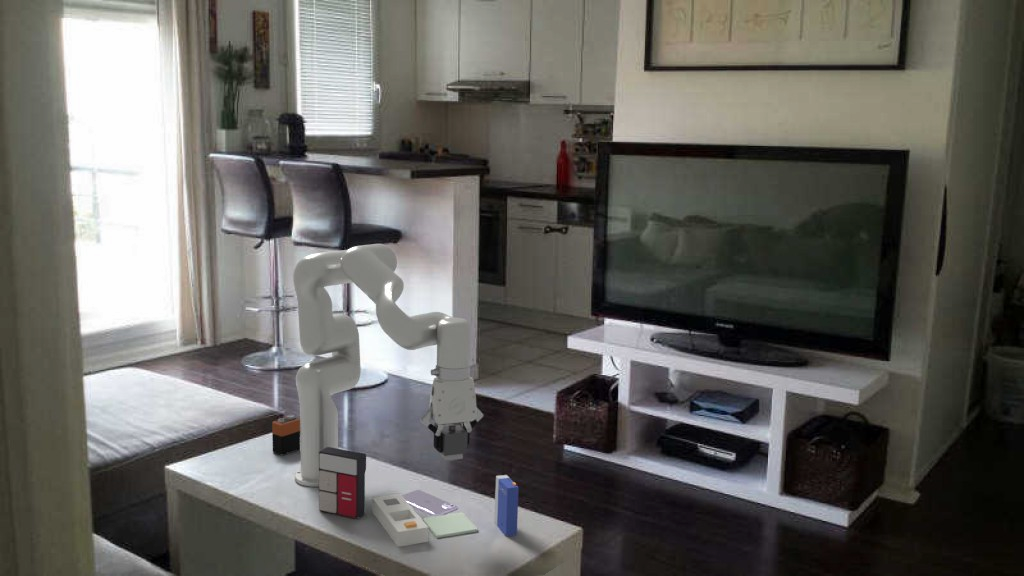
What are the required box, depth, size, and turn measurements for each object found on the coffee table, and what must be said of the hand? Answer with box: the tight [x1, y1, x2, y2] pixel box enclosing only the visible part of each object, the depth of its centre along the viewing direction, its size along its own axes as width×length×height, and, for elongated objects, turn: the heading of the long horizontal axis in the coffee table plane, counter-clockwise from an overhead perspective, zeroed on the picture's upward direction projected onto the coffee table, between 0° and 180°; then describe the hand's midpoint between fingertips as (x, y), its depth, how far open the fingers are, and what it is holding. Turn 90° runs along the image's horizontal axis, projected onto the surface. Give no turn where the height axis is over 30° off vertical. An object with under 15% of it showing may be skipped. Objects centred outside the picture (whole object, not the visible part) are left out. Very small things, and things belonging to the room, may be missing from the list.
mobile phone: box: [401, 489, 458, 516], centre depth 225 cm, size 8×1×15 cm
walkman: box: [493, 474, 520, 537], centre depth 211 cm, size 8×3×12 cm, turn 21°
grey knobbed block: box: [439, 424, 468, 462], centre depth 209 cm, size 6×6×8 cm
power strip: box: [371, 493, 429, 548], centre depth 211 cm, size 20×7×4 cm, turn 25°
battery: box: [271, 414, 301, 456], centre depth 256 cm, size 4×7×10 cm, turn 145°
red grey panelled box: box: [318, 447, 367, 519], centre depth 216 cm, size 11×4×15 cm, turn 68°
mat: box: [421, 511, 479, 539], centre depth 212 cm, size 10×10×1 cm
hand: (451, 448), depth 209 cm, fingers closed on grey knobbed block, 5 cm apart
